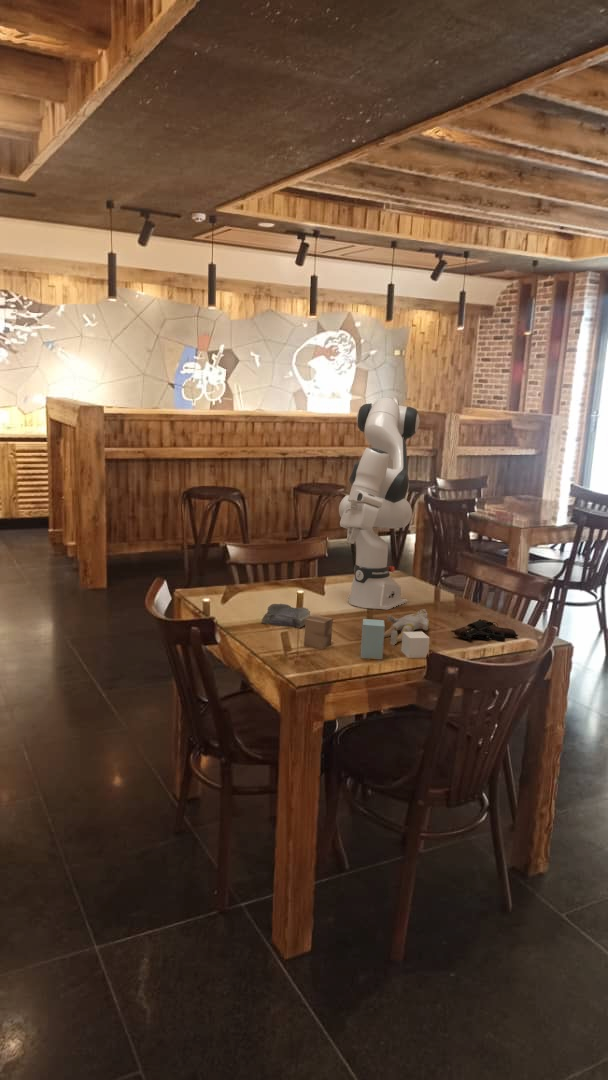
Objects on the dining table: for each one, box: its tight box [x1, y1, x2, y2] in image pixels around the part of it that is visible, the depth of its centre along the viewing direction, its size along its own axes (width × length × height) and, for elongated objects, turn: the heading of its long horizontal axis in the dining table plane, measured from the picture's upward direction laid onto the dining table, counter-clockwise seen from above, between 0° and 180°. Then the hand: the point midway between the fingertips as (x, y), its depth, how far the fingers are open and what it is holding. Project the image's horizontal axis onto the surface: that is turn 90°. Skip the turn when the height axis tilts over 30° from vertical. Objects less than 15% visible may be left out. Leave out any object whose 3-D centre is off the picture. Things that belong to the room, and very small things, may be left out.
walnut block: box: [303, 614, 334, 650], centre depth 231 cm, size 6×6×8 cm
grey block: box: [401, 631, 431, 659], centre depth 227 cm, size 6×6×6 cm
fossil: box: [261, 603, 311, 629], centre depth 255 cm, size 15×16×4 cm
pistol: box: [451, 618, 519, 643], centre depth 248 cm, size 4×19×15 cm
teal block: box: [360, 618, 386, 660], centre depth 223 cm, size 6×6×10 cm
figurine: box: [384, 608, 430, 646], centre depth 249 cm, size 13×6×30 cm
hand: (350, 543), depth 236 cm, fingers closed
